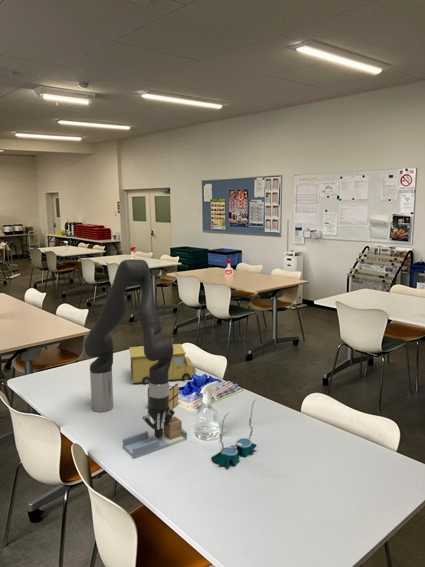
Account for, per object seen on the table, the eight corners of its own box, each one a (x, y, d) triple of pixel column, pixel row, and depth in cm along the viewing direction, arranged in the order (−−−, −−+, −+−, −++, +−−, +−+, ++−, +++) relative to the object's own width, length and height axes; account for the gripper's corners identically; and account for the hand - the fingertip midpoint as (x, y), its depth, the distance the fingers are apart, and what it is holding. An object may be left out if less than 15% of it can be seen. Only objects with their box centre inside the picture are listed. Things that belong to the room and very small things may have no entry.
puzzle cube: (147, 409, 198) (147, 387, 196) (158, 400, 207) (158, 379, 205) (168, 413, 194) (167, 391, 192) (178, 404, 203) (178, 382, 202)
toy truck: (195, 386, 223) (194, 357, 221) (123, 386, 224) (122, 356, 222) (198, 370, 246) (197, 343, 244) (133, 369, 247) (132, 342, 245)
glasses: (227, 471, 151) (227, 415, 148) (207, 461, 157) (207, 407, 154) (260, 450, 164) (261, 398, 161) (241, 442, 170) (241, 391, 167)
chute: (122, 447, 166) (122, 438, 165) (174, 430, 179) (174, 422, 178) (134, 458, 159) (134, 449, 158) (186, 439, 172) (186, 431, 171)
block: (163, 434, 173) (163, 419, 172) (174, 430, 176) (174, 416, 175) (170, 439, 169) (170, 424, 168) (181, 435, 172) (181, 420, 171)
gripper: (168, 386, 174) (168, 428, 176) (137, 393, 166) (138, 438, 168) (179, 392, 168) (179, 436, 170) (147, 400, 160) (147, 446, 162)
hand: (158, 437), depth 169 cm, fingers closed
